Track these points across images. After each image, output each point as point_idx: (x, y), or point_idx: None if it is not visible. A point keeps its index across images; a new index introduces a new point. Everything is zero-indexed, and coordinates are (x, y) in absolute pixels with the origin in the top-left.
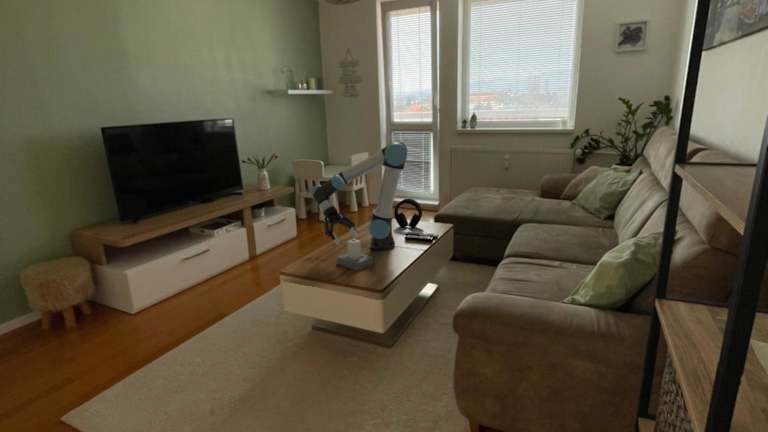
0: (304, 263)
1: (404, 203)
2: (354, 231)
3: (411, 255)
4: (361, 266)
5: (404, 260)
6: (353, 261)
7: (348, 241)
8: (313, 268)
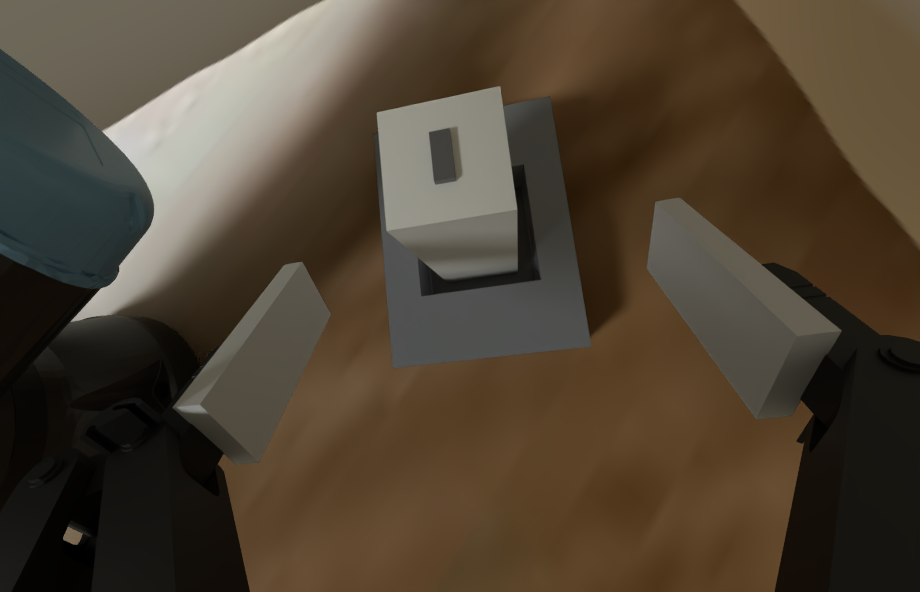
0: None
1: None
2: (258, 325)
3: (137, 145)
4: None
5: (219, 103)
6: (540, 151)
7: (510, 191)
8: None
